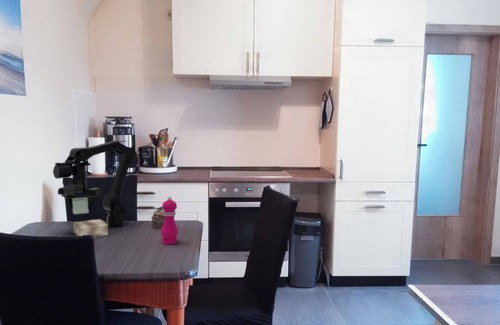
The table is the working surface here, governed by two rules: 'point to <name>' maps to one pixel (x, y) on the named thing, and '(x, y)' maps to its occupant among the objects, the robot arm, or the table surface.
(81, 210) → the cube
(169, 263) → the table surface
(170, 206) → the pepper mill
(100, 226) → the birch box
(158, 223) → the cupcake
